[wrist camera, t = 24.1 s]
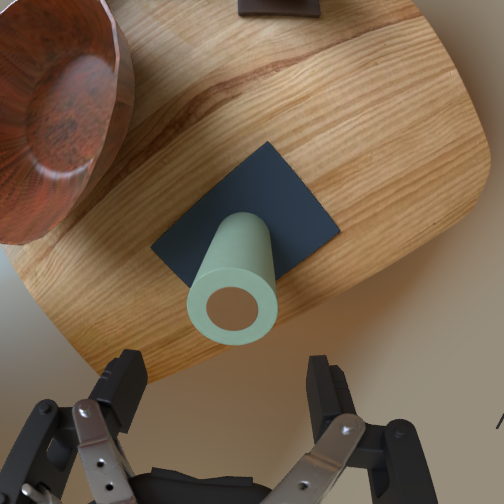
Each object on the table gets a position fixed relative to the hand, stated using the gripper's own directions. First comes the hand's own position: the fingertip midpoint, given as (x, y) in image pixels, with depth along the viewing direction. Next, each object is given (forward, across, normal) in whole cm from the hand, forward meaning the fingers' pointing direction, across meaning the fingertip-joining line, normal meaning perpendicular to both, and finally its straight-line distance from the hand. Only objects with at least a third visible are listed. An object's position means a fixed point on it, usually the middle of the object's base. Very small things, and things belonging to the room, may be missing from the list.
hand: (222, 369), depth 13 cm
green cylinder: (+12, 0, 0) cm, 12 cm away
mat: (+20, 0, 0) cm, 20 cm away
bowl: (+20, +20, -16) cm, 32 cm away
